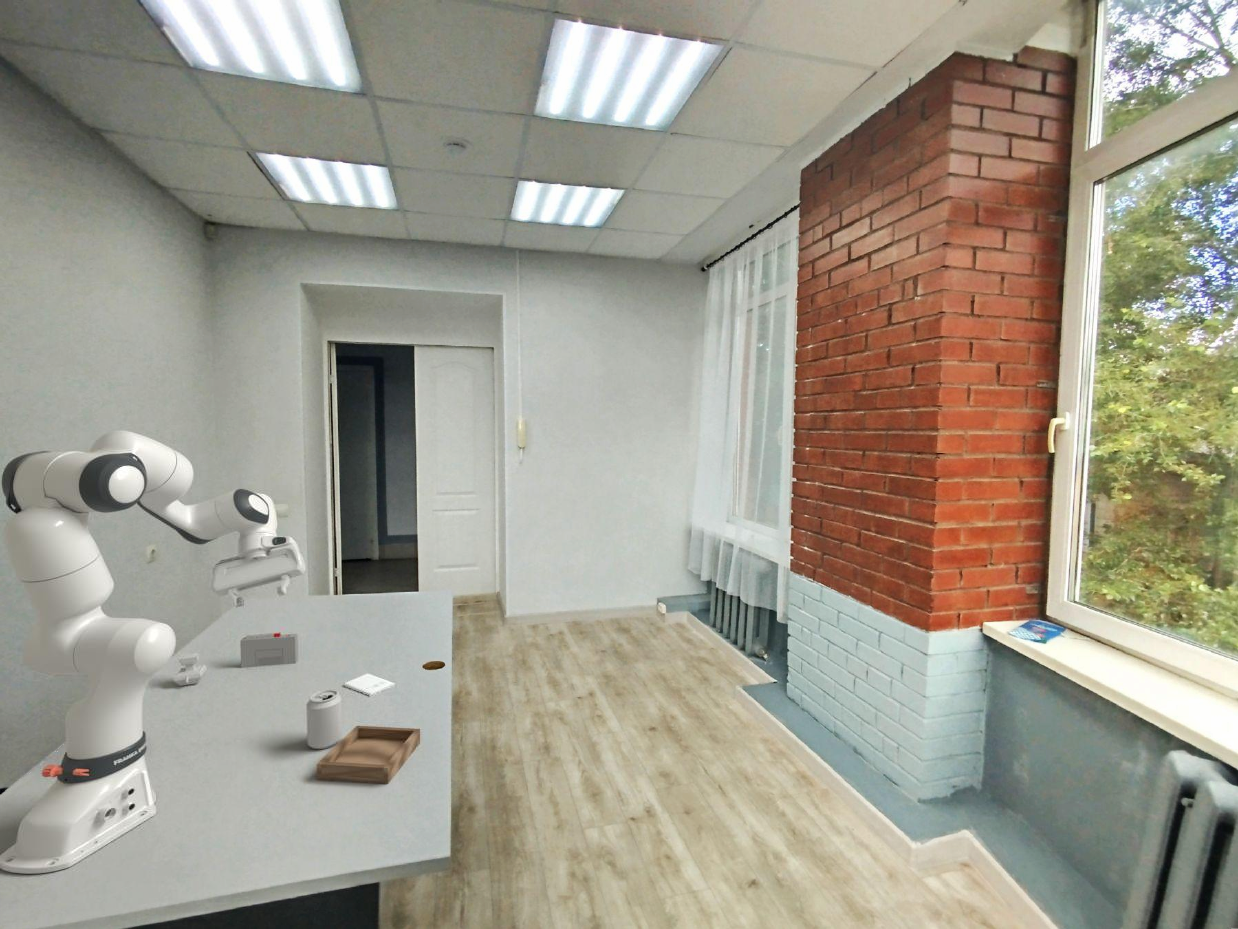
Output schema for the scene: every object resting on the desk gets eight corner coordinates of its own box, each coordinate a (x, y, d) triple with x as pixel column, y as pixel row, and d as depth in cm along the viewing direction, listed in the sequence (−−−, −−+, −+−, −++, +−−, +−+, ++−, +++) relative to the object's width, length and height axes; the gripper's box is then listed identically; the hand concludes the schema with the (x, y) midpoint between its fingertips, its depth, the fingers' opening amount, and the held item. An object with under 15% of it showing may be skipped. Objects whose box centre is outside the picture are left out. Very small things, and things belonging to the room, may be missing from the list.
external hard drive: (368, 678, 174) (395, 687, 167) (344, 688, 167) (370, 698, 160) (368, 673, 174) (395, 682, 167) (343, 683, 166) (370, 693, 160)
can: (327, 753, 132) (326, 703, 132) (300, 749, 134) (298, 700, 133) (349, 736, 140) (348, 689, 139) (322, 732, 141) (321, 686, 140)
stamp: (200, 687, 165) (199, 659, 165) (172, 691, 163) (171, 662, 162) (208, 674, 174) (207, 648, 173) (181, 678, 171) (180, 651, 170)
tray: (388, 783, 121) (387, 768, 121) (317, 779, 122) (316, 764, 122) (420, 742, 137) (420, 729, 137) (357, 739, 138) (356, 725, 138)
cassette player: (298, 660, 185) (297, 630, 185) (295, 663, 183) (294, 633, 182) (244, 664, 181) (243, 634, 181) (241, 668, 179) (240, 637, 178)
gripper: (207, 557, 139) (206, 608, 132) (297, 535, 145) (301, 582, 138) (218, 567, 144) (218, 617, 138) (305, 546, 150) (309, 592, 143)
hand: (260, 600), depth 138 cm, fingers open, 8 cm apart
